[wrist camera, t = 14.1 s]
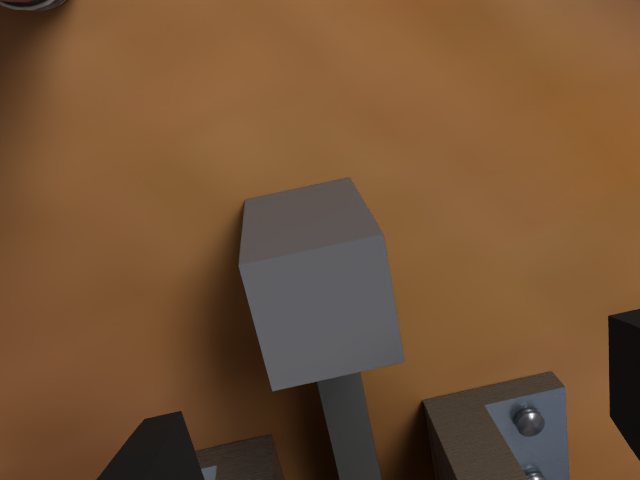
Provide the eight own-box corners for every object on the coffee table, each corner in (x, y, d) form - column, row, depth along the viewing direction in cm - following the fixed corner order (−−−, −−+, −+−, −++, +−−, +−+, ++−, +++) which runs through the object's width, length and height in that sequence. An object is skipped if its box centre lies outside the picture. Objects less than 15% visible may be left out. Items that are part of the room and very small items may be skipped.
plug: (419, 563, 24) (460, 703, 19) (341, 581, 24) (362, 726, 19) (349, 177, 18) (383, 234, 13) (244, 199, 18) (238, 265, 13)
